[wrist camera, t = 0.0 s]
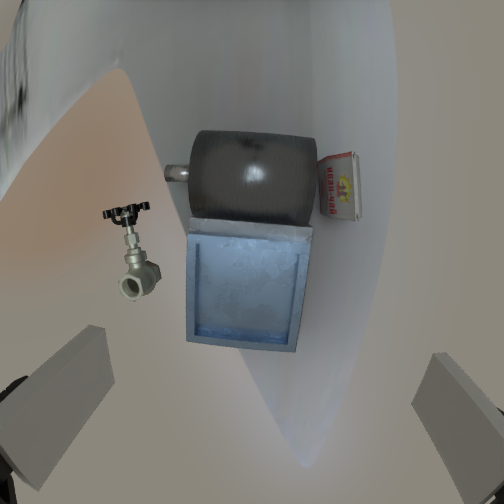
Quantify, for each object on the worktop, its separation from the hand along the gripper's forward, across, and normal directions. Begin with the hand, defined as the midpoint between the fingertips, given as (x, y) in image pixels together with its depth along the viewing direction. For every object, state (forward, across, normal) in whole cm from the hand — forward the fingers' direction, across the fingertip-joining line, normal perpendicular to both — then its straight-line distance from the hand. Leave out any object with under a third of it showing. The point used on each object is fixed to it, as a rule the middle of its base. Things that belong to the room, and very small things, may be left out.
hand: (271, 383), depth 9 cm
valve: (+28, -17, -2) cm, 33 cm away
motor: (+28, -4, 0) cm, 28 cm away
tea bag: (+28, +8, +8) cm, 30 cm away
